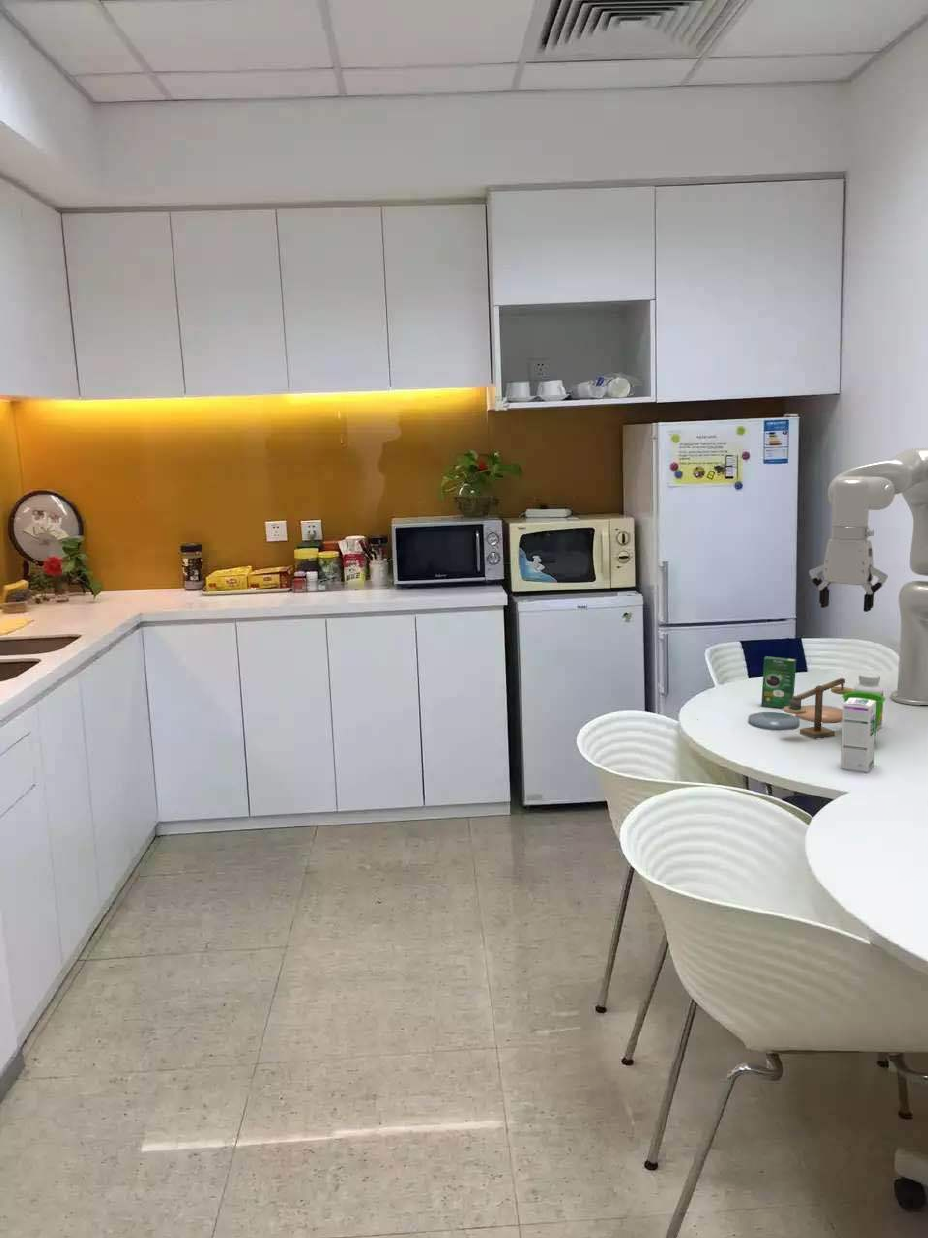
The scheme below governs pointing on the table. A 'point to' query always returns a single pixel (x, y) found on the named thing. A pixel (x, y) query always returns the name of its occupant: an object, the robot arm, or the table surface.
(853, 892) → the table surface
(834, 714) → the dish
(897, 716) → the table surface
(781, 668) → the coffee box
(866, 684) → the supplement bottle
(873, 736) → the syrup box
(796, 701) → the balance
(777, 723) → the dish
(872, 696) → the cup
